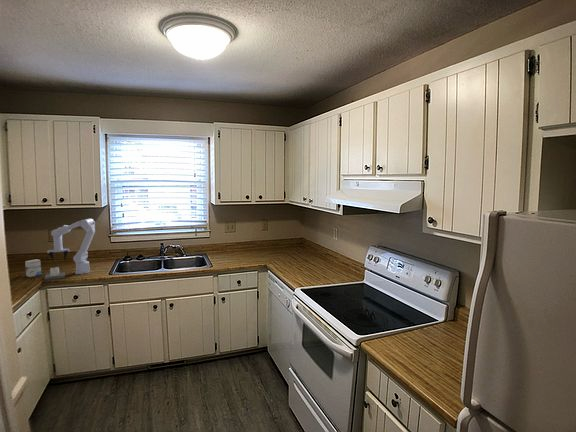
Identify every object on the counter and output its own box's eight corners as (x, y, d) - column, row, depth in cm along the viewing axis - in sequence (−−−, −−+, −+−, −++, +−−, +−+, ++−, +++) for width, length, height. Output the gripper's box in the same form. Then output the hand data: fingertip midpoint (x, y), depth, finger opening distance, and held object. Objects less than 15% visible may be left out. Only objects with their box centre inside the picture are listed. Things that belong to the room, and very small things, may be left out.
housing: (58, 275, 258) (58, 269, 257) (50, 276, 255) (50, 270, 255) (59, 273, 264) (58, 267, 263) (51, 274, 261) (51, 267, 261)
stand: (65, 274, 267) (64, 272, 267) (63, 278, 258) (63, 275, 258) (46, 276, 261) (46, 274, 261) (44, 280, 253) (44, 277, 252)
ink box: (38, 273, 270) (37, 258, 269) (41, 274, 268) (40, 259, 266) (25, 276, 263) (24, 261, 261) (29, 277, 260) (28, 262, 259)
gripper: (69, 242, 278) (70, 258, 279) (47, 244, 271) (48, 260, 272) (68, 244, 272) (69, 260, 273) (46, 245, 265) (47, 262, 266)
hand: (59, 260), depth 272 cm, fingers open, 7 cm apart
